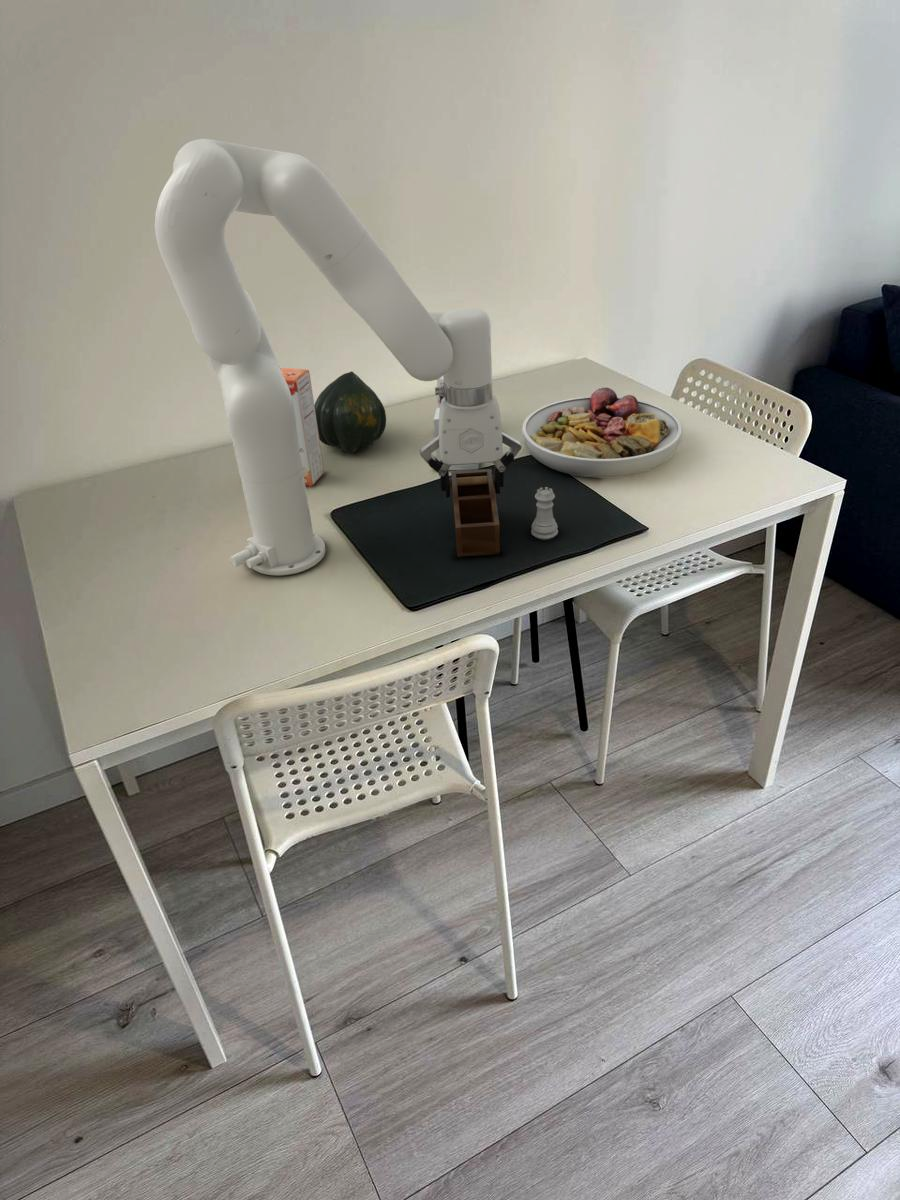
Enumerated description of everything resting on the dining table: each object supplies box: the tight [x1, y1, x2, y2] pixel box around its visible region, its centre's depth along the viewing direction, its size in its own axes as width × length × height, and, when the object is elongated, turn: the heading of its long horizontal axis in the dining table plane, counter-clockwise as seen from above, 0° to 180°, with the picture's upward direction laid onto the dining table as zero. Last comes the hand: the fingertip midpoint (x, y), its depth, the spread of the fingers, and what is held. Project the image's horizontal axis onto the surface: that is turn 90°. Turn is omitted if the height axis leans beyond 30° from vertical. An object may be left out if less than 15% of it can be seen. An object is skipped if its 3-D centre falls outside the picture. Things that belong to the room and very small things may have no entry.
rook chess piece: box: [530, 486, 559, 541], centre depth 141 cm, size 4×4×8 cm
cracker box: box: [280, 367, 325, 487], centre depth 160 cm, size 14×6×21 cm, turn 73°
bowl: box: [521, 387, 683, 479], centre depth 166 cm, size 30×30×8 cm
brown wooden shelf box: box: [449, 468, 501, 558], centre depth 142 cm, size 15×8×6 cm, turn 2°
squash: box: [314, 371, 387, 454], centre depth 173 cm, size 14×15×15 cm
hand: (472, 491), depth 145 cm, fingers closed on brown wooden shelf box, 7 cm apart
